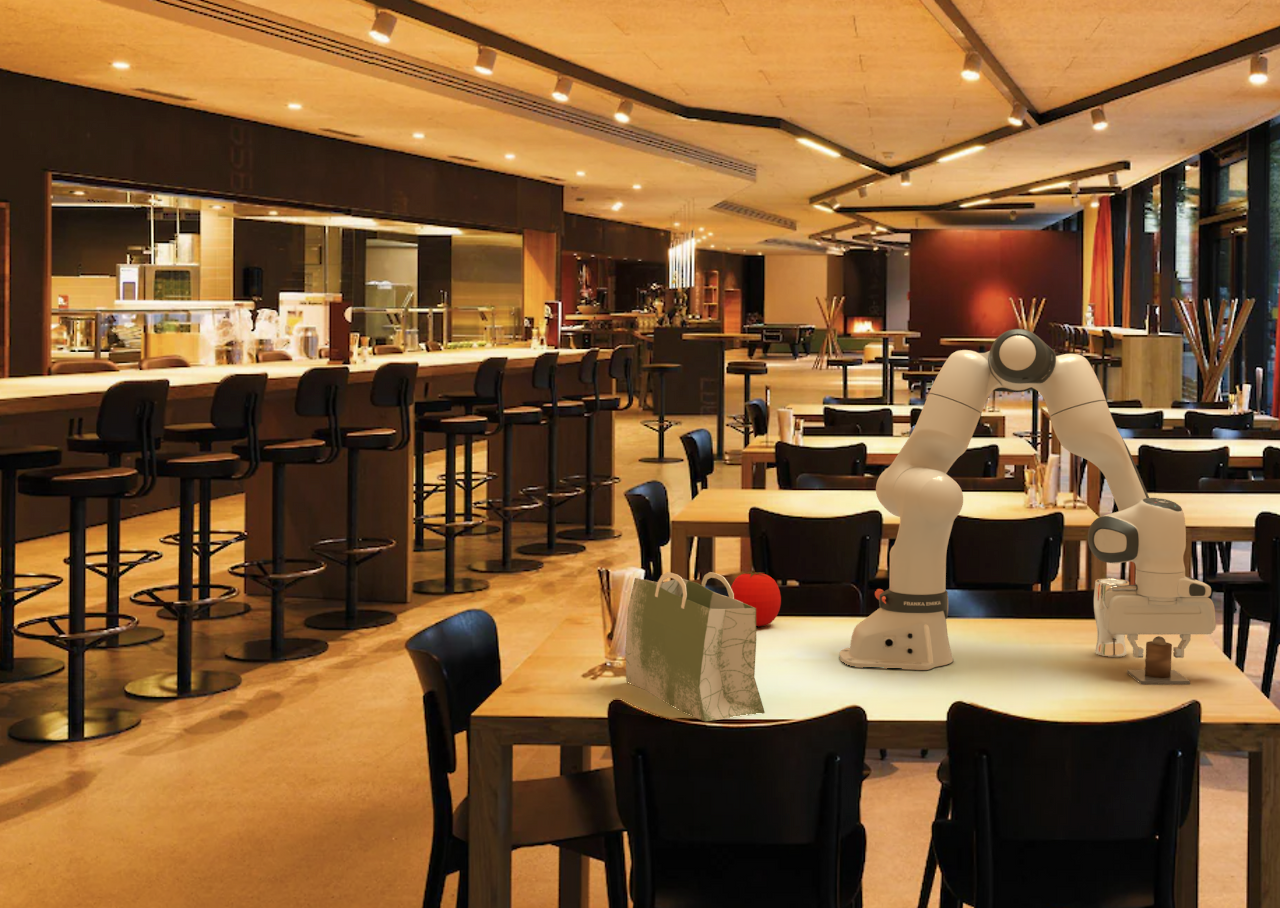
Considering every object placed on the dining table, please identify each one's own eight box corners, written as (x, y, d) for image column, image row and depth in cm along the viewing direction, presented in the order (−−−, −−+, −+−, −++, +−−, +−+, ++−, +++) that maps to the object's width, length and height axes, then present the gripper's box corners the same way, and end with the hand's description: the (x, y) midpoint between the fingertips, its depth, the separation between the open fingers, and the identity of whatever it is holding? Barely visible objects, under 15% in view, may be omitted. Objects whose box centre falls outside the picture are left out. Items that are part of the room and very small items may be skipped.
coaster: (1141, 684, 282) (1141, 681, 282) (1127, 673, 291) (1127, 669, 291) (1189, 684, 281) (1190, 680, 281) (1174, 672, 290) (1174, 669, 290)
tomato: (746, 619, 346) (746, 564, 345) (790, 624, 339) (790, 569, 338) (717, 628, 336) (716, 572, 335) (762, 634, 329) (762, 577, 328)
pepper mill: (1149, 677, 284) (1150, 638, 283) (1141, 671, 288) (1143, 633, 288) (1173, 678, 284) (1175, 639, 283) (1166, 672, 288) (1167, 634, 288)
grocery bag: (771, 712, 264) (771, 581, 262) (701, 722, 258) (700, 588, 256) (686, 674, 293) (686, 556, 291) (621, 682, 287) (620, 562, 285)
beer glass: (1130, 658, 303) (1132, 584, 302) (1094, 657, 304) (1095, 583, 303) (1126, 651, 310) (1128, 578, 308) (1091, 649, 311) (1092, 577, 310)
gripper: (1109, 588, 282) (1107, 661, 283) (1219, 587, 281) (1217, 660, 282) (1099, 582, 288) (1098, 653, 289) (1208, 581, 287) (1206, 653, 289)
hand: (1158, 657), depth 286 cm, fingers open, 6 cm apart
